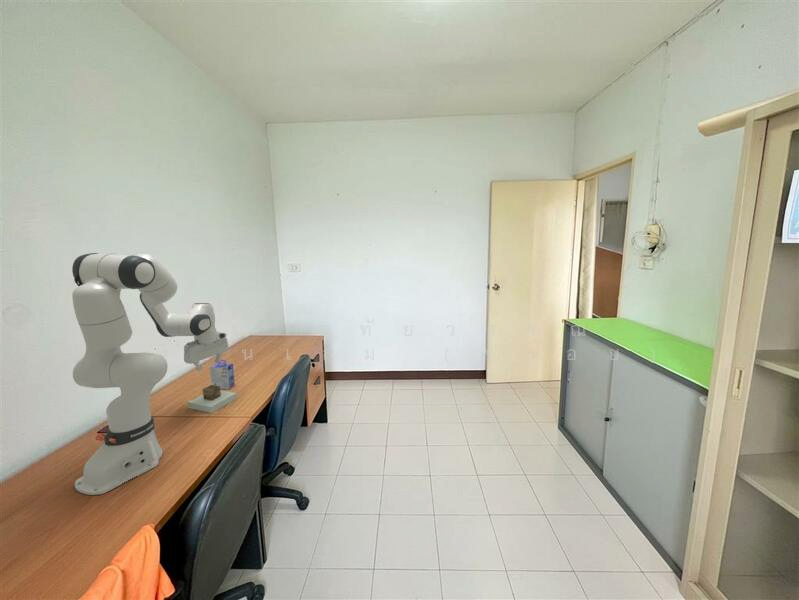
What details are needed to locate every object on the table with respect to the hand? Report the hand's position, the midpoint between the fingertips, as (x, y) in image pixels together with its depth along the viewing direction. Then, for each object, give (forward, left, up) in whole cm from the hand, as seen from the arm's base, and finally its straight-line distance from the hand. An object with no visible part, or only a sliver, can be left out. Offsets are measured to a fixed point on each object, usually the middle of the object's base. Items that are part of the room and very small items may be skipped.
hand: (208, 366), depth 146 cm
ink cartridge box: (+15, +10, -19) cm, 26 cm away
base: (0, 0, -19) cm, 19 cm away
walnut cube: (0, 0, -16) cm, 16 cm away
